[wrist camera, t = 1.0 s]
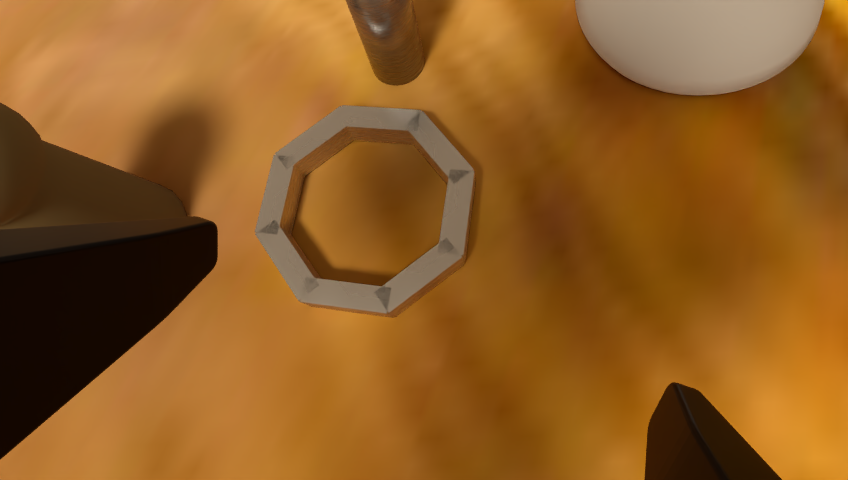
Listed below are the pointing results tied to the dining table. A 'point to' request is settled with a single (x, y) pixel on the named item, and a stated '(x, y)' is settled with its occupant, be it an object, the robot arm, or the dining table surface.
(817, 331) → the dining table surface
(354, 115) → the octagon frame
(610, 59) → the flower in vase
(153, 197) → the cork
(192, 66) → the dining table surface
